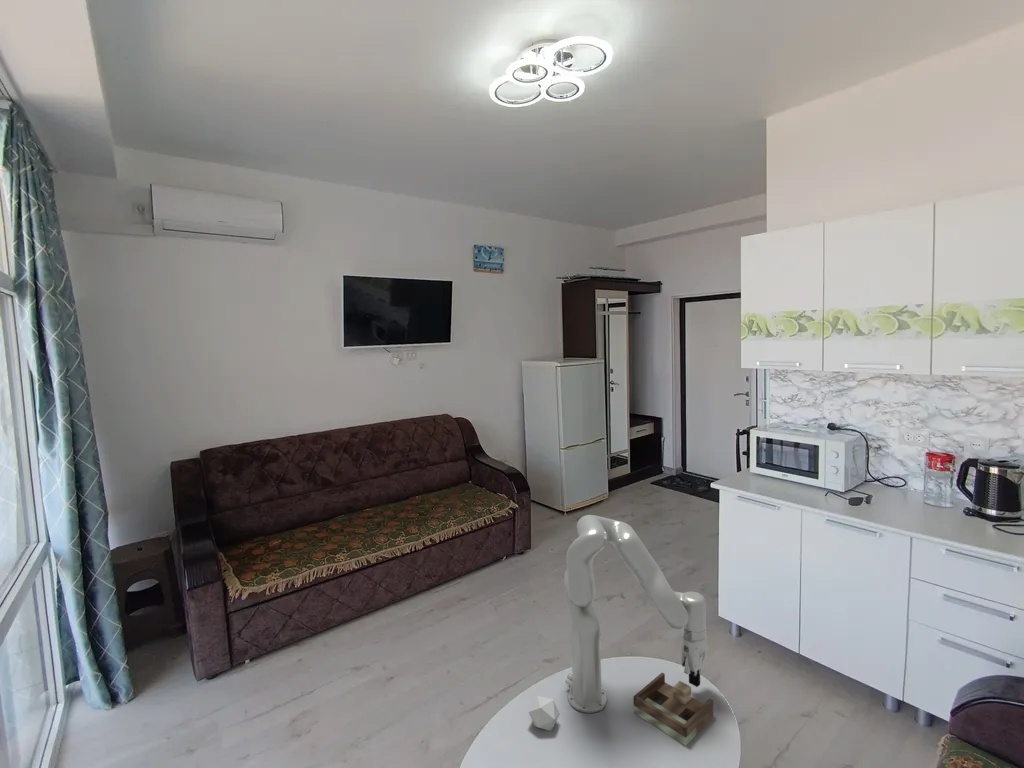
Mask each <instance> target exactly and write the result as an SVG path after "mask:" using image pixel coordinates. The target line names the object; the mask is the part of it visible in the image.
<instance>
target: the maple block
mask: <svg viewBox="0 0 1024 768" xmlns="http://www.w3.org/2000/svg"><path fill="white" fill-rule="evenodd" d="M691 697H692V686H690V685H689V684H687V683H686V682H684V681H681V680H678V681H677V682H676V683H675V684H673V698H674V699H675V700H677V701H679V702H681V703H682V704H684V705H685V704H686V703H687V702H688V701H689V700H690V699H691Z"/></svg>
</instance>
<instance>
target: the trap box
mask: <svg viewBox="0 0 1024 768" xmlns="http://www.w3.org/2000/svg"><path fill="white" fill-rule="evenodd" d="M665 674H666V673H663V672H660V674H658V675H657V676H656V677H655V678H653V679H652V680H651V681H650V682H649V683H648V684H646V685H644V687H643V688H641V690H639V691H638V692H636V693H635V694H634V695H633V698H632V700H633V714H635V715H637V716H638V717H640V718H641V719H643V720H645V721H646V722H647V723H650V724H651V725H652V726H654V727H655V728H657V729H659V730H660V731H662V732H663V733H665V734H666V735H668V736H669V737H671V738H673V739H674V740H675V741H678V742H679V743H681V744H682V745H684V746H685V747H686V746H687V745H688V744H689V743H690V742H691V741H692V740H693V739H694V737H696V735H698V733H699V732H701V730H702V729H704V727H705V726H706V725H707V724H708V723H709V722H710V721H711V720H712V718H713V717H714V699H712V698H709V699H708V700H706V702H705V703H703V702H701V701H699V700H697V699H696V698H694V697H692V696H691V699H690V700H689V701H688V702H687V703H686V704H685V705H684V704H682V703H681V702H679V701H677V700H675V699H674V698H673V686H674V685H673V686H672V685H671V684H669V683H667V682H666V675H665Z"/></svg>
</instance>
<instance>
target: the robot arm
mask: <svg viewBox="0 0 1024 768" xmlns="http://www.w3.org/2000/svg"><path fill="white" fill-rule="evenodd" d="M576 531H577V535H578V537H577V538H576V539H575V540H573V542H572V543H571V544H570V545H569V547H568V548H567V551H566V557H565V559H566V570H565V572H564V576H563V582H564V592H565V602H566V610H567V615H568V619H569V623H570V625H569V626H570V630H571V631H570V632H571V633H570V636H571V638H570V639H571V640H570V645H571V647H570V648H571V649H570V651H571V653H570V654H571V672H569V673H568V674H567V679H565V684H566V685H568V686H569V687H570V690H569V691H568V695H567V696H568V702H569V704H570V706H571V707H572V708H574V709H575V710H577V711H579V712H582V713H585V714H586V713H587V714H591V713H596V712H600V711H601V710H603V709H604V708H605V707H606V705H607V701H608V700H607V695H606V692H605V691H604V689H603V688H602V687H603V686H602V656H601V655H602V654H601V640H602V639H601V636H602V625H601V619H600V617H599V614H598V610H597V609H596V605H595V602H594V600H595V597H596V591H597V590H596V583H595V576H594V575H595V574H594V558H595V557H596V556H597V555H598V554H599V553H600V552H601V551H603V549H604V548H605V546H606V544H611V545H613V547H614V549H615V551H616V552H617V554H618V555H619V557H620V559H621V560H622V561H623V562H624V564H625V565H626V567H627V568H628V570H629V571H630V573H631V575H632V576H633V578H634V579H635V580H636V582H637V583H638V584H639V586H640V587H641V589H642V590H643V591H644V593H645V594H646V595H647V596H648V598H649V599H650V601H651V602H652V604H653V605H654V607H655V608H656V609H657V612H658V613H659V614H660V616H661V617H662V619H663V620H664V621H665V623H666V625H668V626H669V627H670V628H672V629H676V630H681V635H682V638H681V649H680V650H681V651H680V652H681V653H680V654H681V655H680V663H681V664H680V665H681V666H682V668H683V667H684V669H683V670H684V671H683V673H684V674H686V675H688V683H689V684H690V685H692V686H694V687H696V688H698V687H699V686H700V685H701V671H702V668H703V667H704V665H706V663H708V661H709V658H710V657H709V656H710V655H709V641H708V638H707V637H708V636H707V621H706V620H707V619H706V617H707V616H706V615H707V614H706V613H707V612H706V610H707V608H706V606H707V605H706V604H707V603H706V599H705V597H704V596H703V594H701V593H699V592H697V591H686V592H683V591H682V592H681V591H680V592H679V591H674V590H673V588H672V587H671V585H670V584H669V582H668V580H667V578H666V577H665V575H664V573H663V571H662V570H661V568H660V566H659V565H658V563H657V562H656V560H655V559H654V558H653V556H652V555H651V553H650V552H649V550H648V549H647V548H646V546H645V544H644V543H643V542H642V540H641V538H640V537H639V536H638V534H637V533H636V531H635V530H634V529H633V527H632V526H631V525H630V524H629V523H626V522H623V521H619V520H616V519H612V518H608V517H603V516H599V515H594V514H586V515H583V516H582V517H581V518H579V519H578V521H577V523H576Z"/></svg>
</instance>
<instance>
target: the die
mask: <svg viewBox="0 0 1024 768" xmlns="http://www.w3.org/2000/svg"><path fill="white" fill-rule="evenodd" d="M560 714H561V713H560V711H559V709H558V707H557V705H556V703H555V700H554V699H552V698H549V697H548V698H547V697H544V696H540V695H537V696H536V697H535V699H534V701H533V703H532V705H531V707H530V708H529V711H528V715H529V717H530V719H531V721H532V723H533V724H534V727H536V728H539V729H542V730H546V731H550V732H552V730H553V728H554V726H555V724H556V722H557V721H558V718H559V716H560Z"/></svg>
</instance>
